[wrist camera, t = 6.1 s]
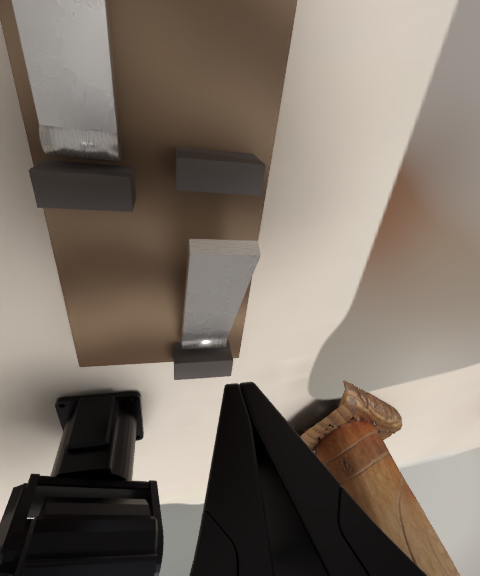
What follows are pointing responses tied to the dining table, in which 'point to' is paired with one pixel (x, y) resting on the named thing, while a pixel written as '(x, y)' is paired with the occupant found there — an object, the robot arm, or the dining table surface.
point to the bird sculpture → (377, 475)
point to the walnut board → (162, 171)
